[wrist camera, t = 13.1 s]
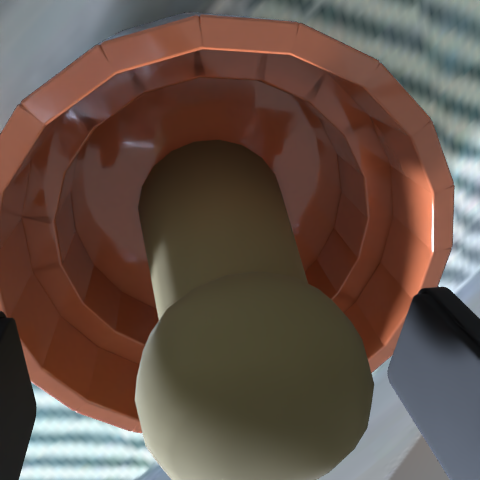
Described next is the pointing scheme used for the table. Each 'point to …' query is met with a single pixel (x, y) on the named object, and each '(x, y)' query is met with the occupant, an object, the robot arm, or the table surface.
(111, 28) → the table surface
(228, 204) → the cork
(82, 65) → the basin
